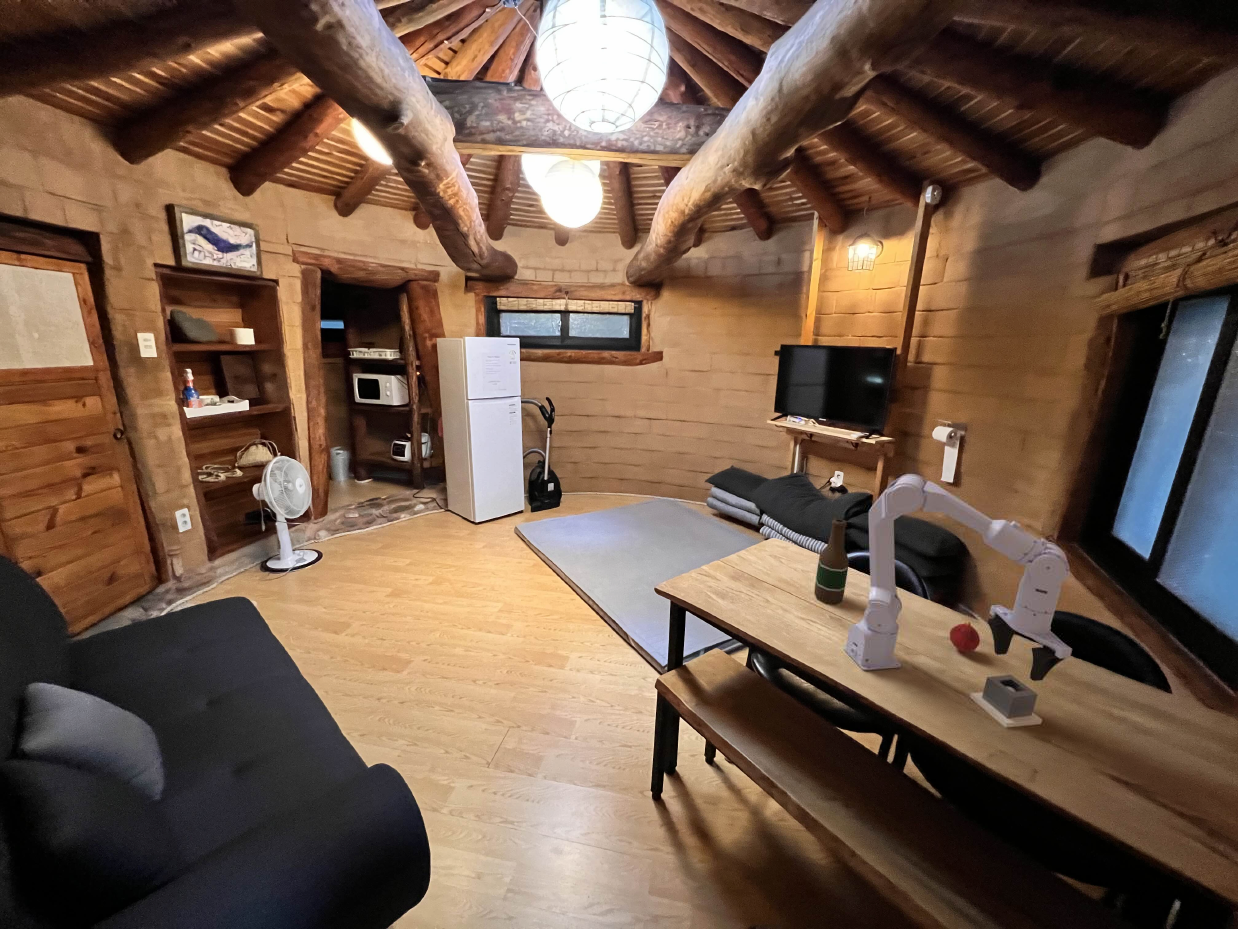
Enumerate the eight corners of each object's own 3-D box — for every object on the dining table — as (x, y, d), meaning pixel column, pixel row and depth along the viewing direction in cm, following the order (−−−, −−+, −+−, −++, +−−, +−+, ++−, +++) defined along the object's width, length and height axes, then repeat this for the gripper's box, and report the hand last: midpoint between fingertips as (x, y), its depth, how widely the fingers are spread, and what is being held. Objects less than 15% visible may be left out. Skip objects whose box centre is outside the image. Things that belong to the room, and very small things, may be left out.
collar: (1007, 718, 92) (1013, 697, 91) (981, 697, 97) (987, 677, 96) (1031, 715, 93) (1037, 694, 92) (1004, 695, 98) (1010, 674, 97)
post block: (1005, 727, 91) (1011, 706, 90) (970, 697, 99) (975, 677, 98) (1041, 723, 92) (1047, 702, 91) (1003, 694, 100) (1009, 674, 99)
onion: (981, 660, 110) (988, 630, 108) (953, 657, 112) (960, 627, 109) (968, 645, 116) (975, 616, 114) (942, 642, 117) (949, 613, 115)
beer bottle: (844, 596, 137) (857, 519, 131) (840, 608, 131) (853, 528, 125) (816, 588, 141) (827, 513, 135) (811, 600, 135) (822, 521, 129)
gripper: (1094, 626, 84) (1073, 690, 87) (1017, 585, 98) (1002, 642, 101) (1059, 628, 83) (1039, 693, 86) (987, 586, 97) (973, 644, 100)
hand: (1017, 666), depth 94 cm, fingers open, 7 cm apart
